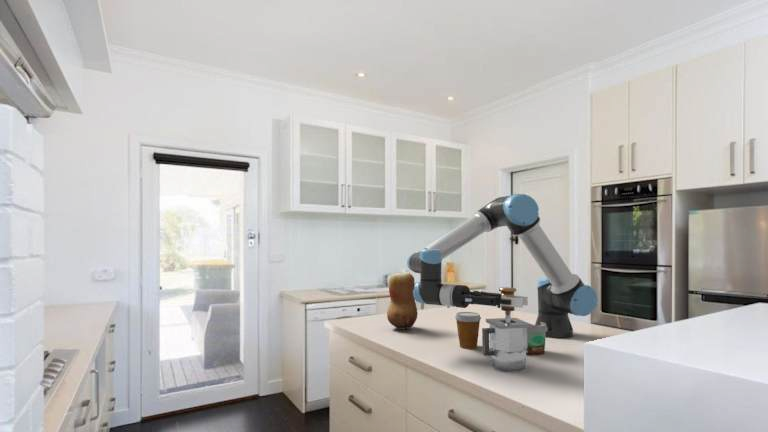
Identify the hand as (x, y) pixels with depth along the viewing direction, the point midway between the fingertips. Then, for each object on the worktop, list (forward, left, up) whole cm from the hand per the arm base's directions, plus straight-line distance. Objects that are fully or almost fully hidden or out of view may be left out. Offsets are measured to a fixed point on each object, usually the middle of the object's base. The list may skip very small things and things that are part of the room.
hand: (524, 301), depth 129 cm
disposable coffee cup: (+8, -29, -21) cm, 36 cm away
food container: (-12, -16, -21) cm, 29 cm away
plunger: (+4, -4, -14) cm, 15 cm away
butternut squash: (+26, -62, -21) cm, 70 cm away
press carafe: (+5, -4, -21) cm, 22 cm away
